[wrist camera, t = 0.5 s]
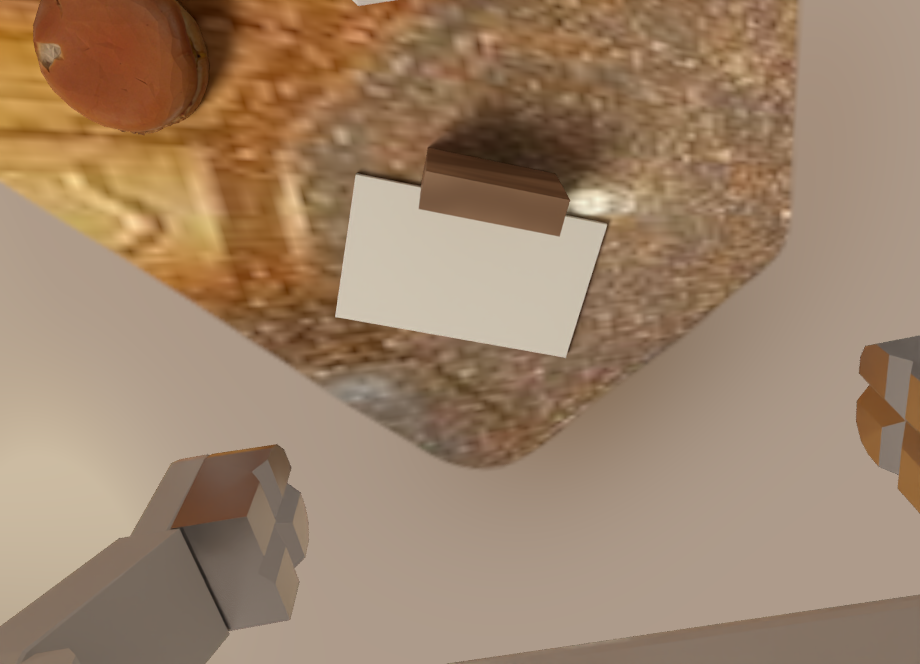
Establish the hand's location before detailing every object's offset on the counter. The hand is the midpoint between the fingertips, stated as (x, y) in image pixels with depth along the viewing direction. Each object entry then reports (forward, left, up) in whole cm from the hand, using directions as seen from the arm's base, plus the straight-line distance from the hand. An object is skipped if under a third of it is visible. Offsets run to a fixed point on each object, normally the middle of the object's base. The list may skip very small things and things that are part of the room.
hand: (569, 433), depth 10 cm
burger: (+3, -21, -41) cm, 46 cm away
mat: (+14, +3, -41) cm, 43 cm away
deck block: (+7, +3, -41) cm, 41 cm away
